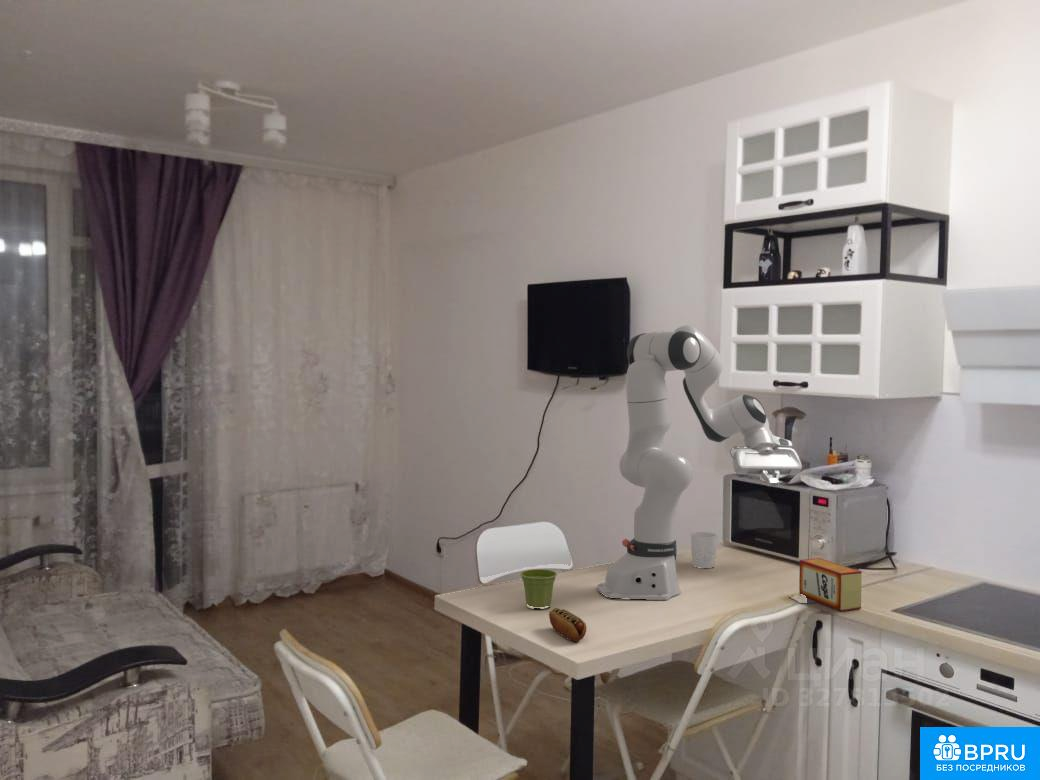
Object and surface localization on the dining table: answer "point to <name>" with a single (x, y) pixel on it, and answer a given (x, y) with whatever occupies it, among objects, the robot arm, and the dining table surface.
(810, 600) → the mat
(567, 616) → the hot dog
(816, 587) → the baking soda box
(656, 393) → the robot arm
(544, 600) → the plant pot
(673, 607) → the dining table surface
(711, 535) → the white cup
